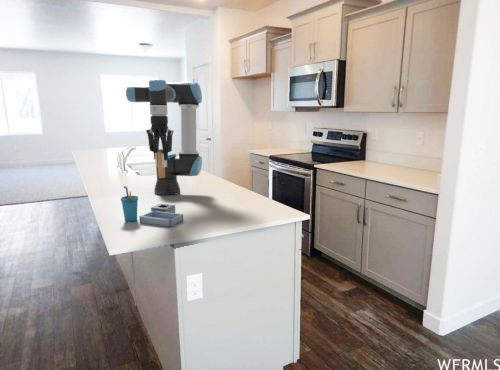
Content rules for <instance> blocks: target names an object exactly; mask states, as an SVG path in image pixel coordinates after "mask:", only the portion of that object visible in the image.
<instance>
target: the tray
mask: <svg viewBox="0 0 500 370" xmlns="http://www.w3.org/2000/svg"><path fill="white" fill-rule="evenodd" d="M138 217H139V223H140V224H144V225H145V224H146V225H151V224H152V225H151V226H158V225H159V226H158V227H167V228H172V227H174V226H177V224H180V223H181V222H184V214H183V213H176V212H175V213H169V212H161V211H151V210H150V212H147V213H143V214H141V215H139V216H138Z"/></svg>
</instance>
